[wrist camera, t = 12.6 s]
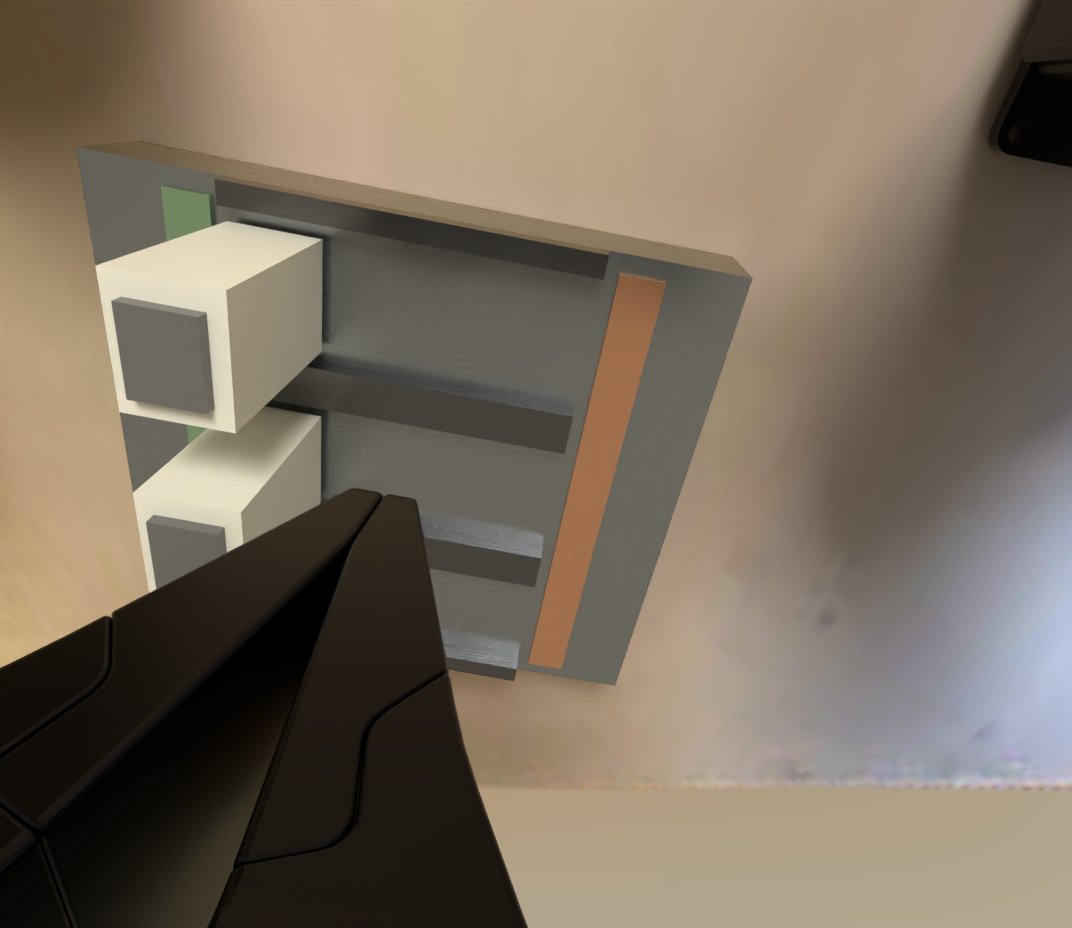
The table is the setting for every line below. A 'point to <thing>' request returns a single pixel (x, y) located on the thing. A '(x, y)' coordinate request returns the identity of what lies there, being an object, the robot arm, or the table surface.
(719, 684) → the table surface
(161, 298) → the block
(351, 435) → the breaker panel
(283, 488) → the block
